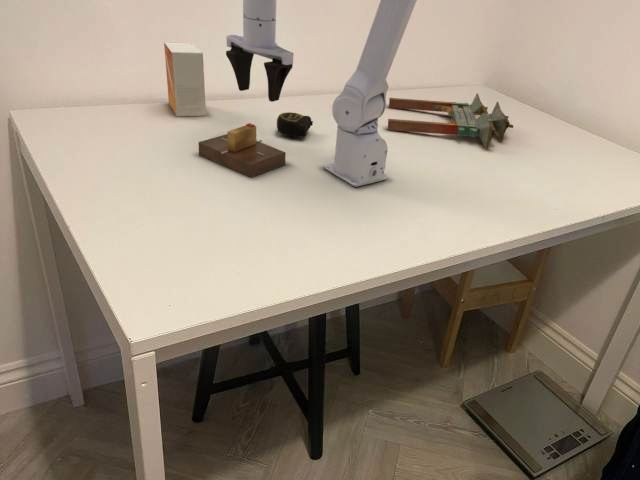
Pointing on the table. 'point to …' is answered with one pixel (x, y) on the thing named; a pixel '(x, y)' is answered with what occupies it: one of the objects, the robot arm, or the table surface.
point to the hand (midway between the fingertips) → (258, 95)
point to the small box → (185, 78)
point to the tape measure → (293, 124)
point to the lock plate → (242, 156)
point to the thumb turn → (242, 137)
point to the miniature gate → (454, 119)
